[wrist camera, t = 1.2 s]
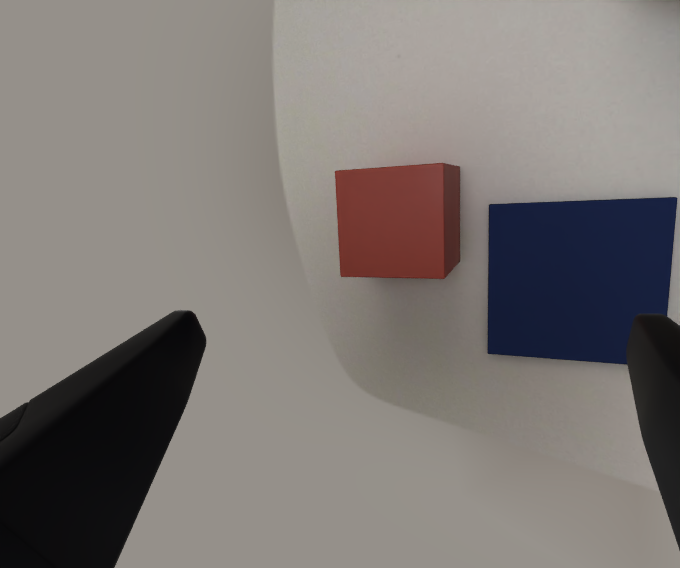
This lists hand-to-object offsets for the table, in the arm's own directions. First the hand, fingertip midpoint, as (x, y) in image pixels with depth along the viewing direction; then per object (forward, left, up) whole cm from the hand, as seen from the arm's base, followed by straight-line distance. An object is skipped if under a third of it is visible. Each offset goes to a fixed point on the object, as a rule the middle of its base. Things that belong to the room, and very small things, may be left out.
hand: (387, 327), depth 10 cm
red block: (+1, +3, -17) cm, 17 cm away
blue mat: (-2, -5, -17) cm, 17 cm away
